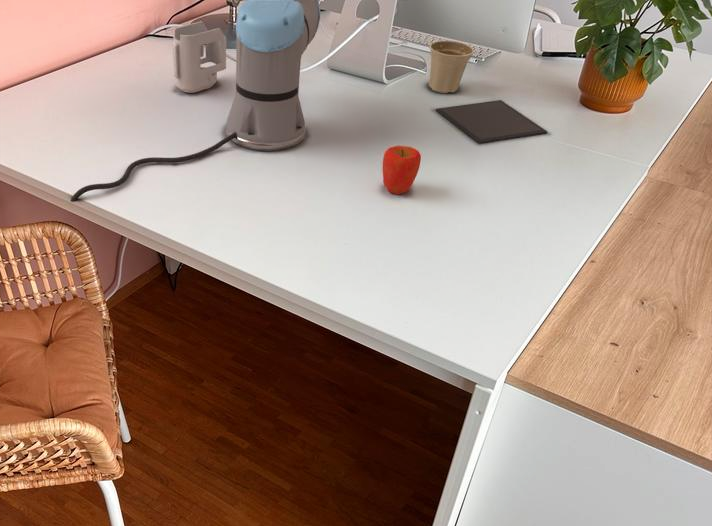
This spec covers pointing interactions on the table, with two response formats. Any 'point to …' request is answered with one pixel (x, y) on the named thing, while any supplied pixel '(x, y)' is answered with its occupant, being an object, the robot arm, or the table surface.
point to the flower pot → (448, 64)
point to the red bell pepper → (400, 168)
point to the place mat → (490, 121)
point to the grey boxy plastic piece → (197, 56)
